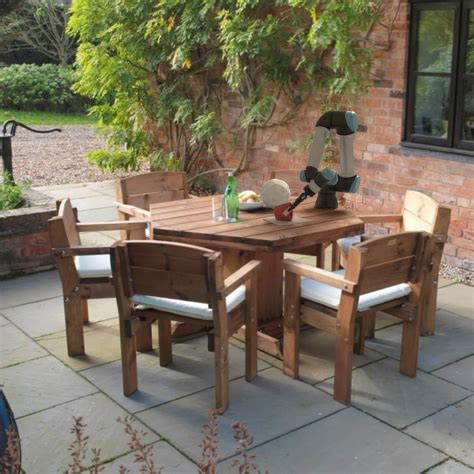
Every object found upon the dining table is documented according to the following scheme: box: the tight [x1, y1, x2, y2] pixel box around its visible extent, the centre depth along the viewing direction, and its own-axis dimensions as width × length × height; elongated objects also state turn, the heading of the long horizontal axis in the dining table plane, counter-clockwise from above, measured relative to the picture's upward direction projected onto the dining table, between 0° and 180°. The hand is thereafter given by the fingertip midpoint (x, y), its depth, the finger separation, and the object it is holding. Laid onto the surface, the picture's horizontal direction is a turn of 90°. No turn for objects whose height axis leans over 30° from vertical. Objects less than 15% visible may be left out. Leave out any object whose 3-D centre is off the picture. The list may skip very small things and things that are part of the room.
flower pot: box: [273, 201, 294, 220], centre depth 434 cm, size 11×11×10 cm
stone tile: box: [262, 215, 309, 227], centre depth 435 cm, size 20×18×1 cm
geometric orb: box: [259, 178, 292, 210], centre depth 466 cm, size 19×20×20 cm
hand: (286, 212), depth 434 cm, fingers open, 13 cm apart
